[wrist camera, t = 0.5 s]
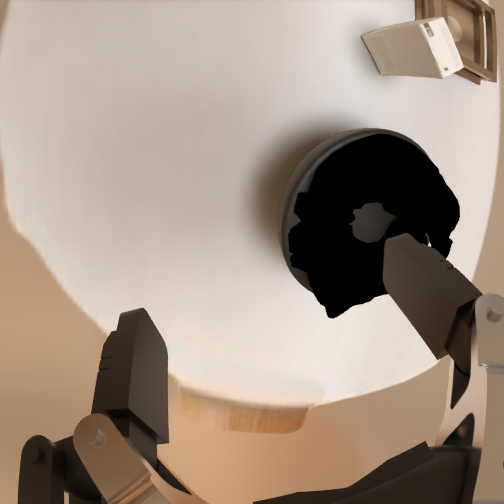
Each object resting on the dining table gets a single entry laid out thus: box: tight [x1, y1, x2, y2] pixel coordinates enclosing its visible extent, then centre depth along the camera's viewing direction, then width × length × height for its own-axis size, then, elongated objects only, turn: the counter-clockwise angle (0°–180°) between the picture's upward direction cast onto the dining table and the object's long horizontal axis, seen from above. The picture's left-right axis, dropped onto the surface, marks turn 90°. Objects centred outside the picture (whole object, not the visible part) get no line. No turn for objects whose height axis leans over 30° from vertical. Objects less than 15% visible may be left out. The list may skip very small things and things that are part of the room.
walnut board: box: [415, 0, 480, 85], centre depth 26 cm, size 15×15×1 cm
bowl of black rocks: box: [278, 128, 460, 318], centre depth 30 cm, size 20×20×19 cm
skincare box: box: [362, 17, 464, 79], centre depth 23 cm, size 6×4×12 cm
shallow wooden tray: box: [421, 0, 497, 83], centre depth 24 cm, size 13×13×4 cm
